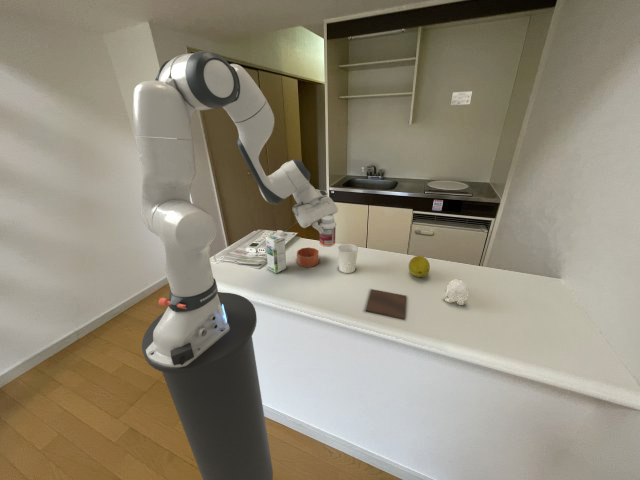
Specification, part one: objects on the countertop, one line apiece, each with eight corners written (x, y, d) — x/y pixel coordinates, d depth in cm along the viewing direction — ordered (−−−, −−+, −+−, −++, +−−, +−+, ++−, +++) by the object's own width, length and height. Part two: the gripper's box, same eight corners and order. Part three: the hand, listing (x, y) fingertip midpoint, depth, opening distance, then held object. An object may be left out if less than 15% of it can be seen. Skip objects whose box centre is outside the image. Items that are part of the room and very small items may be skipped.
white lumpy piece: (449, 283, 82) (447, 268, 93) (444, 305, 85) (442, 288, 96) (472, 287, 80) (466, 271, 91) (465, 310, 83) (461, 292, 94)
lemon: (409, 267, 109) (412, 250, 105) (429, 271, 105) (432, 254, 102) (404, 279, 100) (407, 261, 97) (425, 285, 97) (429, 266, 93)
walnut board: (404, 319, 80) (404, 318, 80) (365, 311, 83) (365, 309, 83) (405, 296, 90) (405, 295, 90) (371, 290, 94) (371, 289, 93)
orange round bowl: (314, 268, 108) (314, 258, 106) (293, 264, 111) (293, 255, 109) (321, 258, 116) (321, 249, 114) (301, 254, 119) (301, 246, 117)
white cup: (333, 268, 108) (334, 247, 104) (347, 262, 113) (348, 241, 108) (346, 276, 103) (347, 254, 98) (360, 269, 107) (361, 248, 103)
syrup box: (267, 269, 108) (264, 237, 102) (278, 263, 112) (275, 233, 106) (276, 273, 104) (273, 241, 98) (287, 268, 109) (285, 236, 102)
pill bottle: (327, 239, 104) (327, 213, 100) (338, 244, 100) (339, 217, 96) (316, 243, 100) (315, 217, 96) (327, 248, 96) (327, 221, 92)
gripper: (294, 201, 89) (316, 233, 88) (328, 190, 104) (348, 217, 102) (285, 211, 93) (306, 242, 92) (320, 199, 108) (338, 225, 107)
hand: (328, 229), depth 97 cm, fingers closed on pill bottle, 6 cm apart
